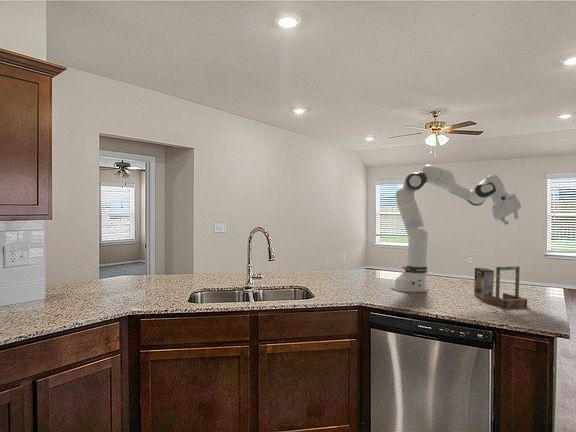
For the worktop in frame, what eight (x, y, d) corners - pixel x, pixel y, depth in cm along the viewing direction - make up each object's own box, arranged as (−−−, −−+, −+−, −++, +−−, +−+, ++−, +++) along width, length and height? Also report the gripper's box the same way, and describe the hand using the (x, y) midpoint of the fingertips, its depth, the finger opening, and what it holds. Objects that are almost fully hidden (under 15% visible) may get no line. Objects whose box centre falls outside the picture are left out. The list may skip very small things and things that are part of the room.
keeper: (505, 308, 207) (506, 269, 206) (483, 301, 221) (484, 264, 221) (527, 307, 210) (528, 268, 209) (504, 300, 225) (505, 264, 224)
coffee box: (473, 295, 235) (474, 267, 235) (484, 295, 236) (485, 267, 236) (482, 299, 226) (483, 270, 226) (493, 299, 227) (494, 270, 226)
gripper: (486, 207, 249) (496, 228, 245) (507, 194, 230) (518, 216, 226) (495, 205, 251) (505, 226, 246) (517, 192, 232) (527, 214, 227)
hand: (511, 221), depth 236 cm, fingers open, 8 cm apart
